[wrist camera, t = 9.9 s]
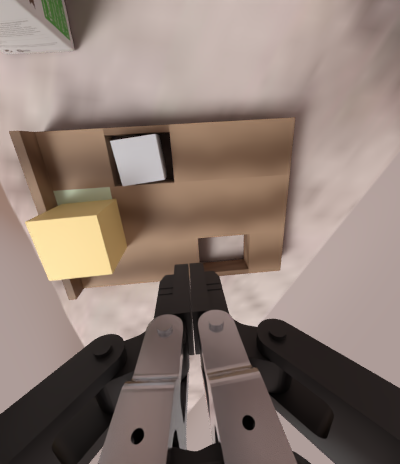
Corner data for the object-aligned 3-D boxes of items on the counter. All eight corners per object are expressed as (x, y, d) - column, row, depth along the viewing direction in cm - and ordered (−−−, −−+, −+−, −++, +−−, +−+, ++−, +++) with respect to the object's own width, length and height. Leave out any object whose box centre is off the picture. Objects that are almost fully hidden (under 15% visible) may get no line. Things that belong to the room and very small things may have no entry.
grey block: (121, 141, 23) (109, 140, 19) (159, 135, 23) (155, 133, 19) (131, 179, 24) (122, 186, 20) (167, 174, 24) (164, 179, 20)
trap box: (42, 133, 22) (8, 131, 17) (283, 120, 23) (306, 114, 19) (85, 276, 28) (68, 299, 24) (272, 260, 29) (287, 279, 25)
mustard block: (61, 204, 22) (25, 222, 17) (116, 198, 22) (96, 215, 17) (77, 252, 24) (49, 280, 19) (127, 246, 24) (112, 274, 19)
